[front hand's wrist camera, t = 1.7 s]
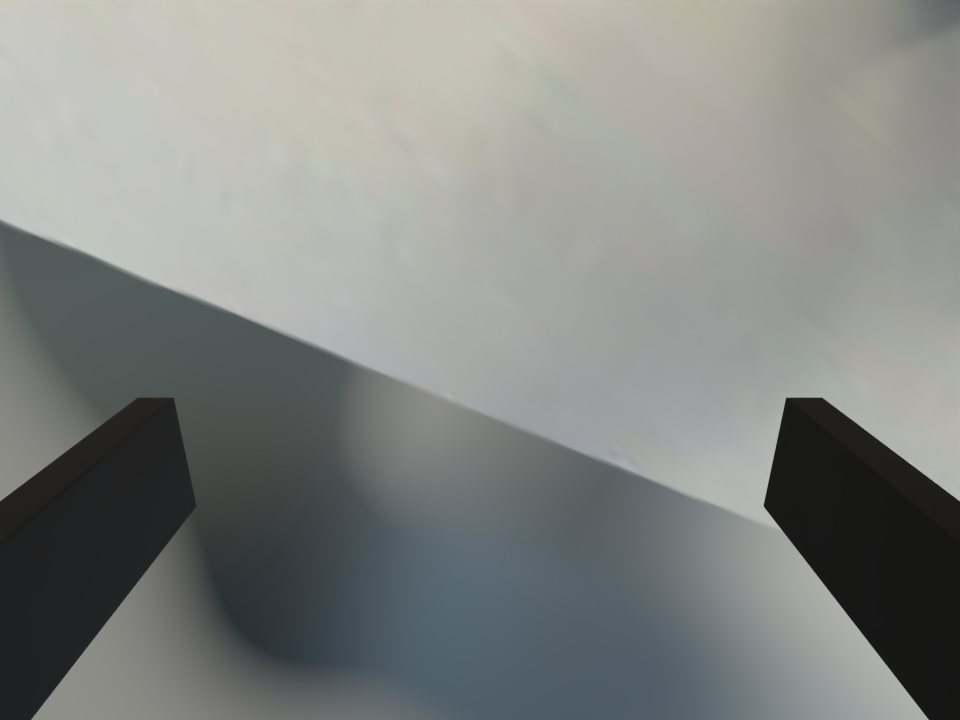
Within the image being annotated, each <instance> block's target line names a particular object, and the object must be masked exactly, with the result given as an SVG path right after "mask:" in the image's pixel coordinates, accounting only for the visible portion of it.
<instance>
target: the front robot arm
mask: <svg viewBox="0 0 960 720" xmlns="http://www.w3.org/2000/svg"><path fill="white" fill-rule="evenodd" d="M195 507H196V502H195V497H194V493H193V488H192V483H191V478H190V473H189V469H188V464H187V459H186V454H185V450H184V445H183V440H182V435H181V430H180V426H179V421H178V416H177V411H176V406H175V402H174V398H137V399H136V400H134V401H133V402H132V403H130V404H129V405H128V406H126V407H125V408H124V409H122V410H121V411H120V412H118V413H117V414H116V415H114V416H113V417H112V418H110V419H109V420H108V421H106V422H105V423H104V424H102V425H101V426H100V427H98V428H97V429H96V430H94V431H93V432H92V433H91V434H89V435H88V436H86V437H85V438H84V439H83V440H81V441H80V442H78V443H77V444H76V445H75V446H73V447H72V448H71V449H69V450H68V451H67V452H65V453H64V454H63V455H61V456H60V457H59V458H57V459H56V460H55V461H53V462H52V463H51V464H49V465H48V466H47V467H45V468H44V469H43V470H41V471H40V472H39V473H37V474H36V475H35V476H33V477H32V478H31V479H29V480H28V481H27V482H25V483H24V484H23V485H21V486H20V487H19V488H17V489H16V490H15V491H13V492H12V493H11V494H9V495H8V496H7V497H5V498H4V499H3V500H1V501H0V720H31V719H32V718H33V716H34V715H35V714H36V713H37V711H38V710H39V709H40V707H41V706H42V705H43V703H44V702H45V701H46V700H47V698H48V697H49V696H50V695H51V693H52V692H53V691H54V689H55V688H56V687H57V686H58V684H59V683H60V682H61V680H62V679H63V678H64V676H65V675H66V674H67V673H68V671H69V670H70V669H71V667H72V666H73V665H74V664H75V662H76V661H77V660H78V658H79V657H80V656H81V655H82V653H83V652H84V651H85V649H86V648H87V647H88V645H89V644H90V643H91V642H92V640H93V639H94V638H95V636H96V635H97V634H98V633H99V631H100V630H101V629H102V627H103V626H104V625H105V624H106V622H107V621H108V620H109V618H110V617H111V616H112V614H113V613H114V612H115V611H116V609H117V608H118V607H119V605H120V604H121V603H122V602H123V600H124V599H125V598H126V596H127V595H128V594H129V593H130V591H131V590H132V589H133V587H134V586H135V585H136V584H137V582H138V581H139V580H140V578H141V577H142V576H143V574H144V573H145V572H146V571H147V569H148V568H149V567H150V565H151V564H152V563H153V562H154V560H155V559H156V558H157V556H158V555H159V554H160V553H161V551H162V550H163V549H164V547H165V546H166V545H167V543H168V542H169V541H170V540H171V538H172V537H173V536H174V534H175V533H176V532H177V531H178V529H179V528H180V527H181V525H182V524H183V523H184V522H185V520H186V519H187V518H188V516H189V515H190V514H191V512H192V511H193V510H194V509H195ZM764 507H765V509H766V510H767V511H768V512H769V514H770V515H771V516H772V518H773V519H774V520H775V522H776V523H777V524H778V525H779V527H780V528H781V529H782V531H783V532H784V533H785V534H786V536H787V537H788V538H789V540H790V541H791V542H792V543H793V545H794V546H795V547H796V549H797V550H798V551H799V553H800V554H801V555H802V556H803V558H804V559H805V560H806V562H807V563H808V564H809V565H810V567H811V568H812V569H813V571H814V572H815V573H816V574H817V576H818V577H819V578H820V580H821V581H822V582H823V584H824V585H825V586H826V587H827V589H828V590H829V591H830V592H831V594H832V595H833V596H834V598H835V599H836V600H837V602H838V603H839V604H840V605H841V607H842V608H843V609H844V611H845V612H846V613H847V614H848V616H849V617H850V618H851V620H852V621H853V622H854V624H855V625H856V626H857V627H858V629H859V630H860V631H861V633H862V634H863V635H864V636H865V638H866V639H867V640H868V642H869V643H870V644H871V645H872V647H873V648H874V649H875V651H876V652H877V653H878V654H879V656H880V657H881V658H882V660H883V661H884V662H885V664H886V665H887V666H888V667H889V669H890V670H891V671H892V672H893V674H894V675H895V676H896V678H897V679H898V680H899V682H900V683H901V684H902V685H903V687H904V688H905V689H906V691H907V692H908V693H909V695H910V696H911V697H912V698H913V700H914V701H915V702H916V704H917V705H918V706H919V707H920V709H921V710H922V711H923V713H924V714H925V715H926V716H927V718H928V719H929V720H960V501H958V500H957V499H956V498H955V497H953V496H952V495H951V494H949V493H948V492H947V491H945V490H944V489H943V488H941V487H940V486H939V485H937V484H936V483H935V482H933V481H932V480H931V479H929V478H928V477H927V476H925V475H924V474H923V473H921V472H920V471H919V470H917V469H916V468H915V467H913V466H912V465H911V464H909V463H908V462H907V461H905V460H904V459H903V458H901V457H900V456H899V455H897V454H896V453H895V452H893V451H892V450H891V449H889V448H888V447H887V446H885V445H884V444H883V443H882V442H880V441H879V440H878V439H876V438H875V437H874V436H872V435H871V434H870V433H868V432H867V431H866V430H864V429H863V428H862V427H860V426H859V425H858V424H856V423H855V422H854V421H852V420H851V419H850V418H848V417H847V416H846V415H844V414H843V413H842V412H840V411H839V410H838V409H836V408H835V407H834V406H832V405H831V404H830V403H828V402H827V401H826V400H824V399H823V398H786V402H785V406H784V411H783V416H782V421H781V426H780V430H779V435H778V440H777V445H776V450H775V454H774V459H773V464H772V469H771V473H770V478H769V483H768V488H767V493H766V497H765V502H764Z"/></svg>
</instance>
